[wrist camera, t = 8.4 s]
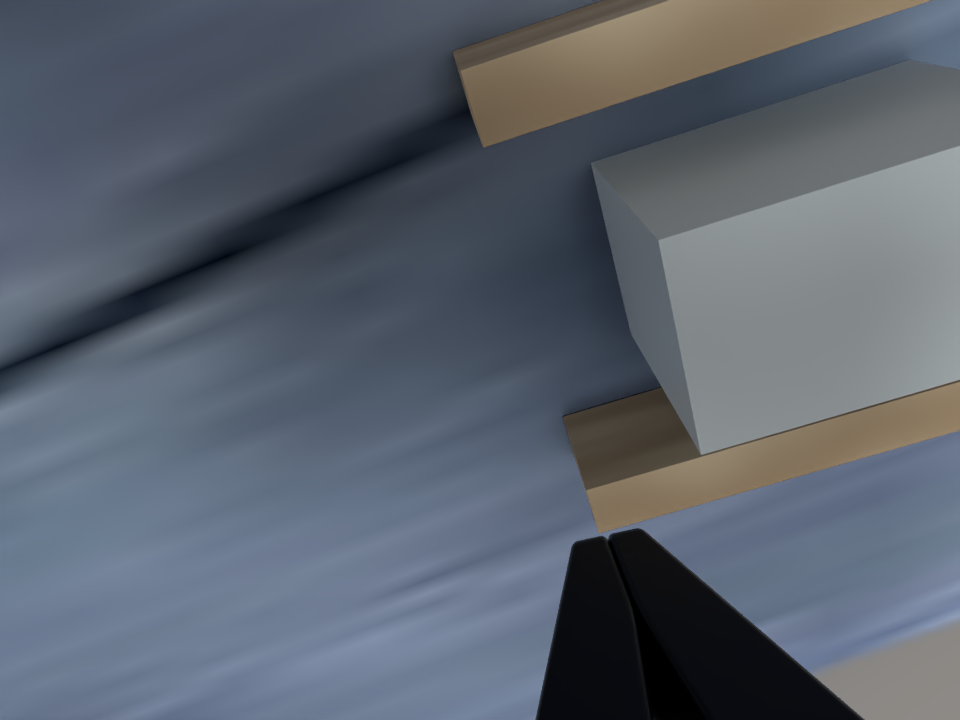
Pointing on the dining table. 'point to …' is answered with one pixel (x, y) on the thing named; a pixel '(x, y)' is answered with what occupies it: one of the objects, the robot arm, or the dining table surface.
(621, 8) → the channel
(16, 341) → the dining table surface
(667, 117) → the dining table surface
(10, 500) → the dining table surface
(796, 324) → the plug block
